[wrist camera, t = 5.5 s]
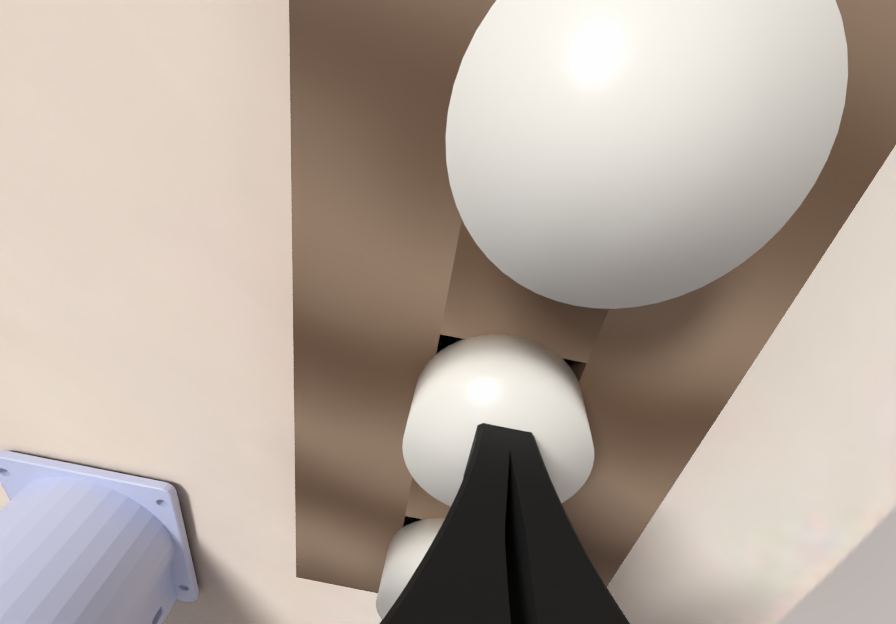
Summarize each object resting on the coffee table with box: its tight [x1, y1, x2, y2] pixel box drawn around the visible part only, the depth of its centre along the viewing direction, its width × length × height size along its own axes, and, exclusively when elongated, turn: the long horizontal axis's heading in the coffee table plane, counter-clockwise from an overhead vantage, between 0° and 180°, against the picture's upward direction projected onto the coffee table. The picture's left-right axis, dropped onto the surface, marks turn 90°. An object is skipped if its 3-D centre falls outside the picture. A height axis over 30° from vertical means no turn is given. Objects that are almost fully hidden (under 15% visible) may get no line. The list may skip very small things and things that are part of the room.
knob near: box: [445, 0, 848, 309], centre depth 8 cm, size 5×5×4 cm
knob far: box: [376, 518, 445, 620], centre depth 17 cm, size 5×5×4 cm
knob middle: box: [402, 335, 594, 507], centre depth 13 cm, size 5×5×4 cm
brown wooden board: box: [289, 0, 896, 593], centre depth 14 cm, size 23×12×2 cm, turn 170°
